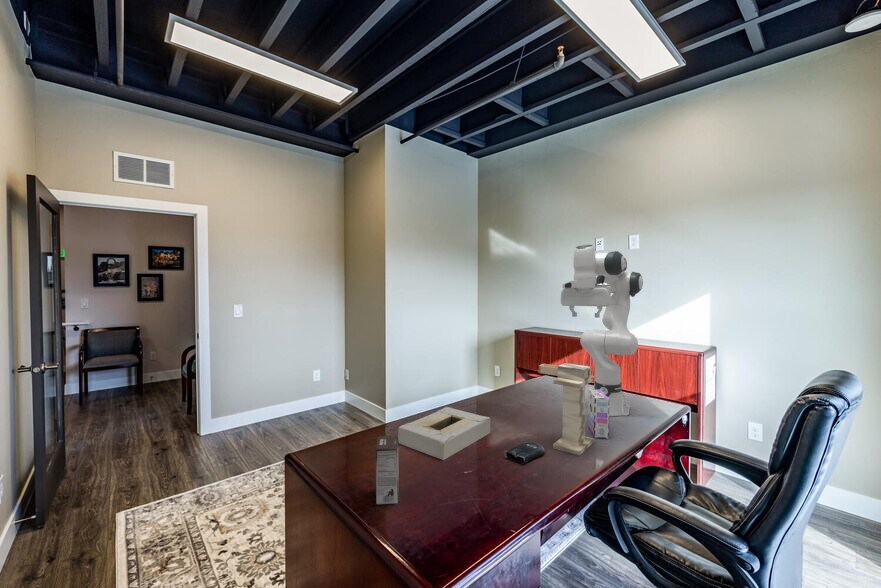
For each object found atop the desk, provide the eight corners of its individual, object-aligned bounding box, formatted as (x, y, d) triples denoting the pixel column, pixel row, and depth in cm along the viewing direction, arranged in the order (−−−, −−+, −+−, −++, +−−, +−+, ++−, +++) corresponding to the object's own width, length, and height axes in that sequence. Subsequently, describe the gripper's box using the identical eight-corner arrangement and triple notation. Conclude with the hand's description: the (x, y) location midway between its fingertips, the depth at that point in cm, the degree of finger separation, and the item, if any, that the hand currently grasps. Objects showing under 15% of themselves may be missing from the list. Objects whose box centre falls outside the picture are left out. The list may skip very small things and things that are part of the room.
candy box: (609, 439, 153) (609, 398, 152) (593, 438, 154) (594, 397, 153) (602, 426, 166) (602, 388, 166) (587, 425, 167) (588, 388, 167)
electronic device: (526, 471, 131) (549, 451, 141) (523, 455, 131) (546, 437, 141) (505, 465, 138) (528, 447, 148) (502, 450, 138) (525, 433, 148)
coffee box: (378, 487, 118) (377, 435, 117) (399, 486, 118) (398, 434, 118) (375, 504, 109) (374, 448, 108) (398, 503, 109) (398, 447, 109)
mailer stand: (568, 435, 156) (569, 361, 155) (593, 442, 150) (594, 364, 149) (553, 448, 145) (553, 367, 144) (579, 455, 139) (580, 371, 138)
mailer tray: (542, 370, 157) (542, 363, 157) (588, 377, 145) (588, 370, 145) (537, 372, 154) (537, 365, 154) (584, 380, 142) (584, 372, 142)
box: (444, 462, 135) (491, 433, 160) (444, 441, 135) (491, 415, 160) (397, 446, 150) (447, 421, 175) (396, 426, 149) (447, 405, 174)
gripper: (613, 283, 155) (614, 317, 156) (564, 284, 169) (565, 315, 169) (608, 283, 151) (609, 318, 151) (558, 284, 164) (559, 316, 165)
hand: (585, 317), depth 160 cm, fingers open, 8 cm apart
